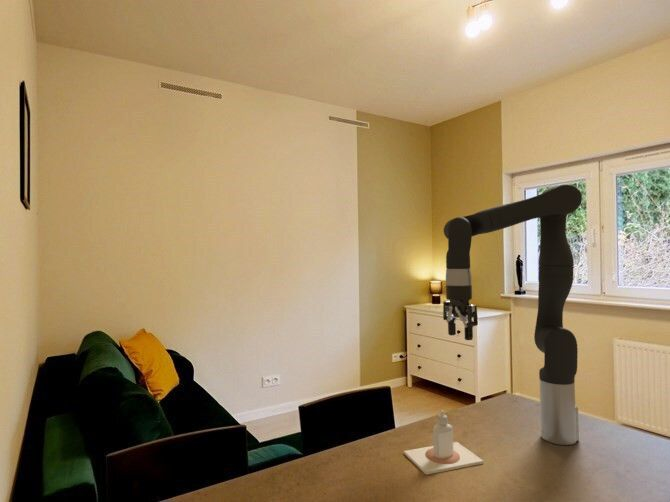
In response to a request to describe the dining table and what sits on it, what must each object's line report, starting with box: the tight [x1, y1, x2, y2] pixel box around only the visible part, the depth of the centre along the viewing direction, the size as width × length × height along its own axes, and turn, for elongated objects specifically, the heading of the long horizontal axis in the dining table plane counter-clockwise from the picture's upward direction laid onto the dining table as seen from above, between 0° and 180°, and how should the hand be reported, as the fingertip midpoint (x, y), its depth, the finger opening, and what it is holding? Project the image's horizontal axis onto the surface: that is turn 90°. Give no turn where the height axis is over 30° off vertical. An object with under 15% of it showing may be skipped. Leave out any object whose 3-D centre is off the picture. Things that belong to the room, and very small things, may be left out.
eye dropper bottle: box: [432, 410, 454, 459], centre depth 111 cm, size 4×6×12 cm
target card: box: [403, 441, 484, 476], centre depth 112 cm, size 17×12×1 cm
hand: (460, 337), depth 125 cm, fingers open, 8 cm apart
